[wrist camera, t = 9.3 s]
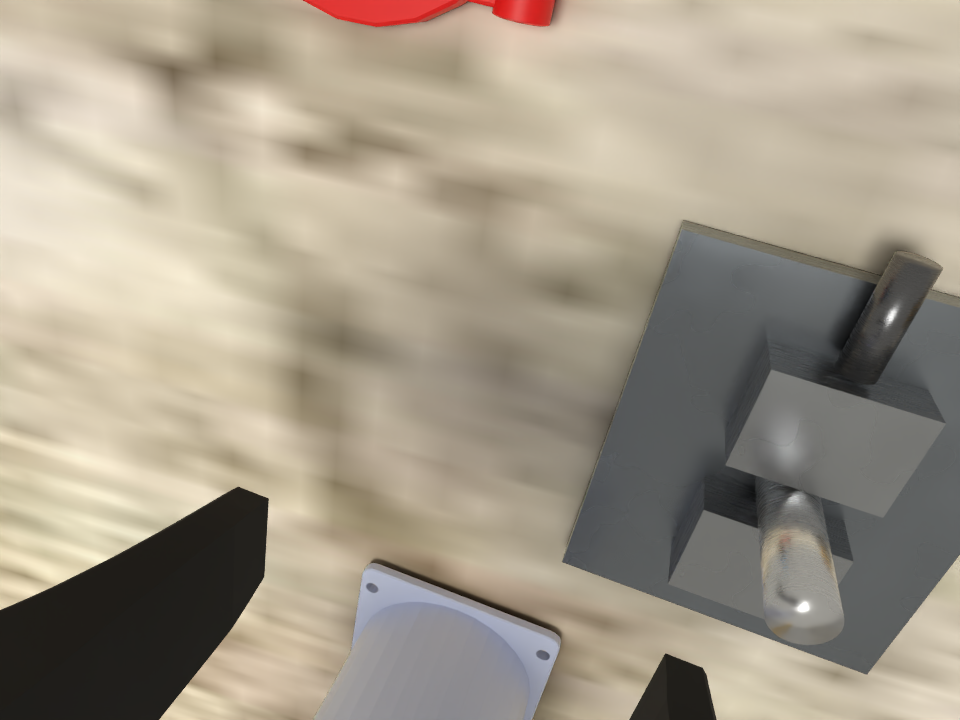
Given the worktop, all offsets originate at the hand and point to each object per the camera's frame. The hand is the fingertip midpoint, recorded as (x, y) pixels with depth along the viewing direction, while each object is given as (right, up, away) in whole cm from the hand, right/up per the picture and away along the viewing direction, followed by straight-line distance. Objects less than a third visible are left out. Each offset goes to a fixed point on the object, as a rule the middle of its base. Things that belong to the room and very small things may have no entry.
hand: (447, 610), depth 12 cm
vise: (+9, +1, +8) cm, 13 cm away
